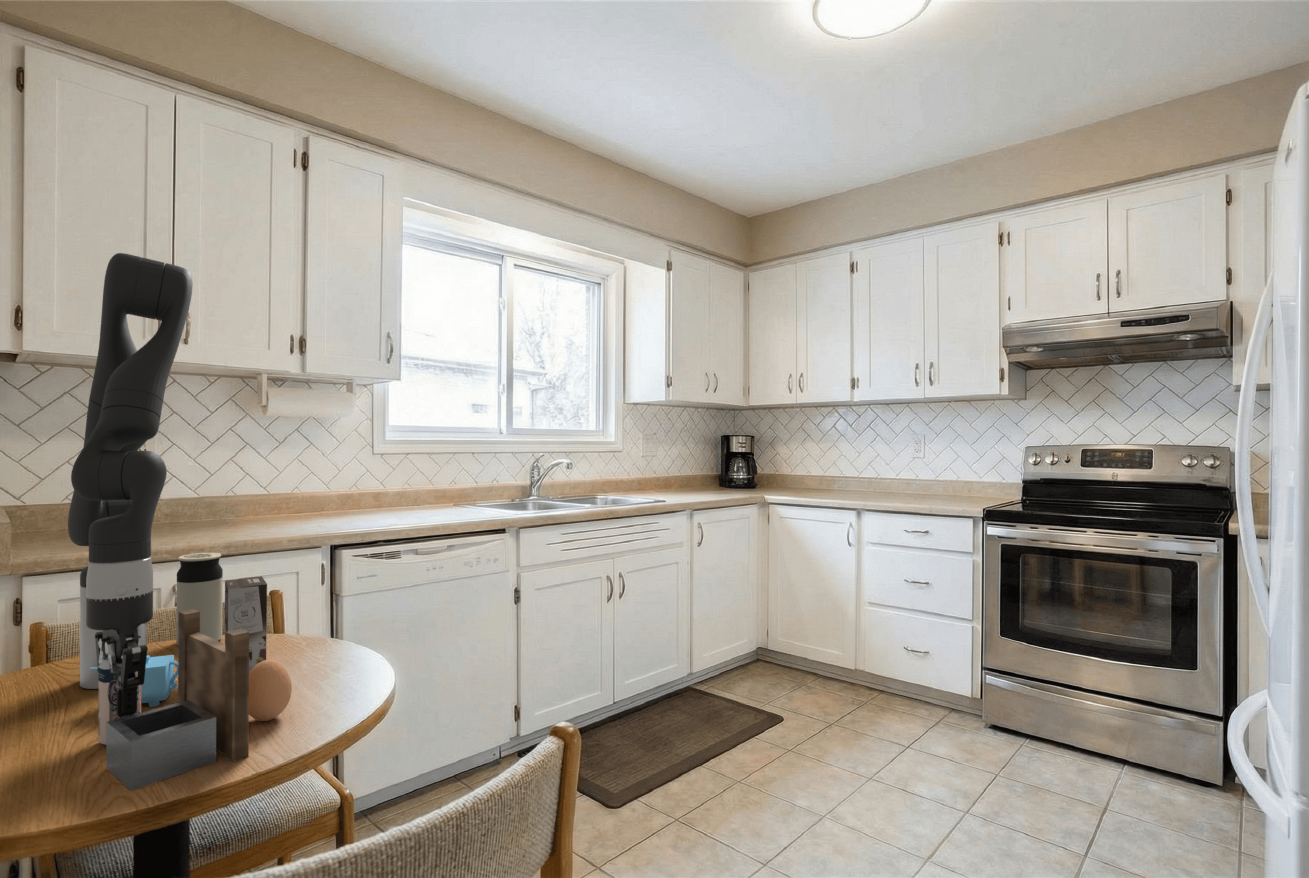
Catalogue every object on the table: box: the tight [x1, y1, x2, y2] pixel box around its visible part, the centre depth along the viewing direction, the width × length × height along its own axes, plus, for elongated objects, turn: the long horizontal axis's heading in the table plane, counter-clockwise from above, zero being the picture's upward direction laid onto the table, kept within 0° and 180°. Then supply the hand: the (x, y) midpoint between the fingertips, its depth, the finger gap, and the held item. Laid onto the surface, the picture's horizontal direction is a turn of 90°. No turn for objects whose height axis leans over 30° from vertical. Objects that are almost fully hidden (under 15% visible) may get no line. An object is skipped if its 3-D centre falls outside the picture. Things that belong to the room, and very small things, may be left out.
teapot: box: [90, 654, 178, 707], centre depth 111 cm, size 12×6×8 cm, turn 115°
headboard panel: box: [177, 609, 250, 763], centre depth 98 cm, size 19×2×17 cm, turn 53°
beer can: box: [97, 657, 142, 746], centre depth 98 cm, size 5×5×12 cm
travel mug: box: [176, 552, 224, 645], centre depth 143 cm, size 8×8×18 cm
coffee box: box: [224, 576, 268, 673], centre depth 127 cm, size 9×6×16 cm
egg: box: [249, 659, 293, 722], centre depth 105 cm, size 7×7×9 cm
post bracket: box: [105, 700, 217, 792], centre depth 91 cm, size 9×9×6 cm
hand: (120, 709), depth 98 cm, fingers closed on beer can, 4 cm apart
